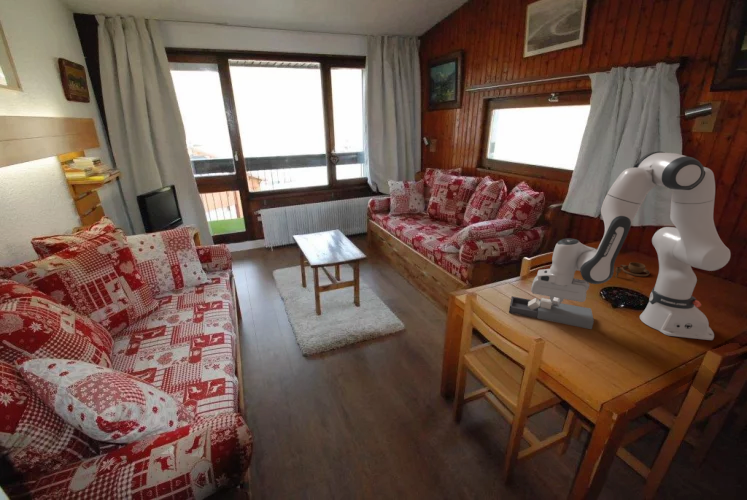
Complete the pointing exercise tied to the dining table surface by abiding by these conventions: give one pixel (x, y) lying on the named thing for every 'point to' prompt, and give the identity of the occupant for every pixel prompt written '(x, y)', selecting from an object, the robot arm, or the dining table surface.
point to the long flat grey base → (567, 315)
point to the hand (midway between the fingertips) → (554, 305)
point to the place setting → (633, 269)
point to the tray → (521, 307)
